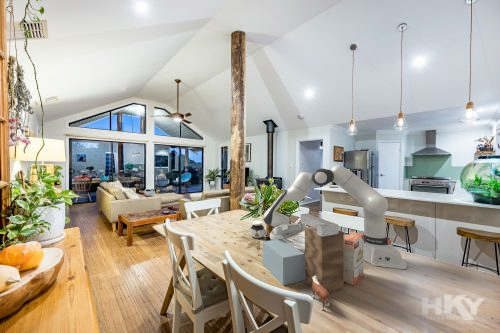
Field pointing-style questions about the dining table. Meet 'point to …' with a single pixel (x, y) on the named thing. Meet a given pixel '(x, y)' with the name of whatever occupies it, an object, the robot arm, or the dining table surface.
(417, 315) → the dining table surface
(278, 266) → the gray rectangular box
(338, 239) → the stand
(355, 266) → the cracker box
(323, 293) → the bull figurine
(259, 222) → the spread jar
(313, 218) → the light gray box
